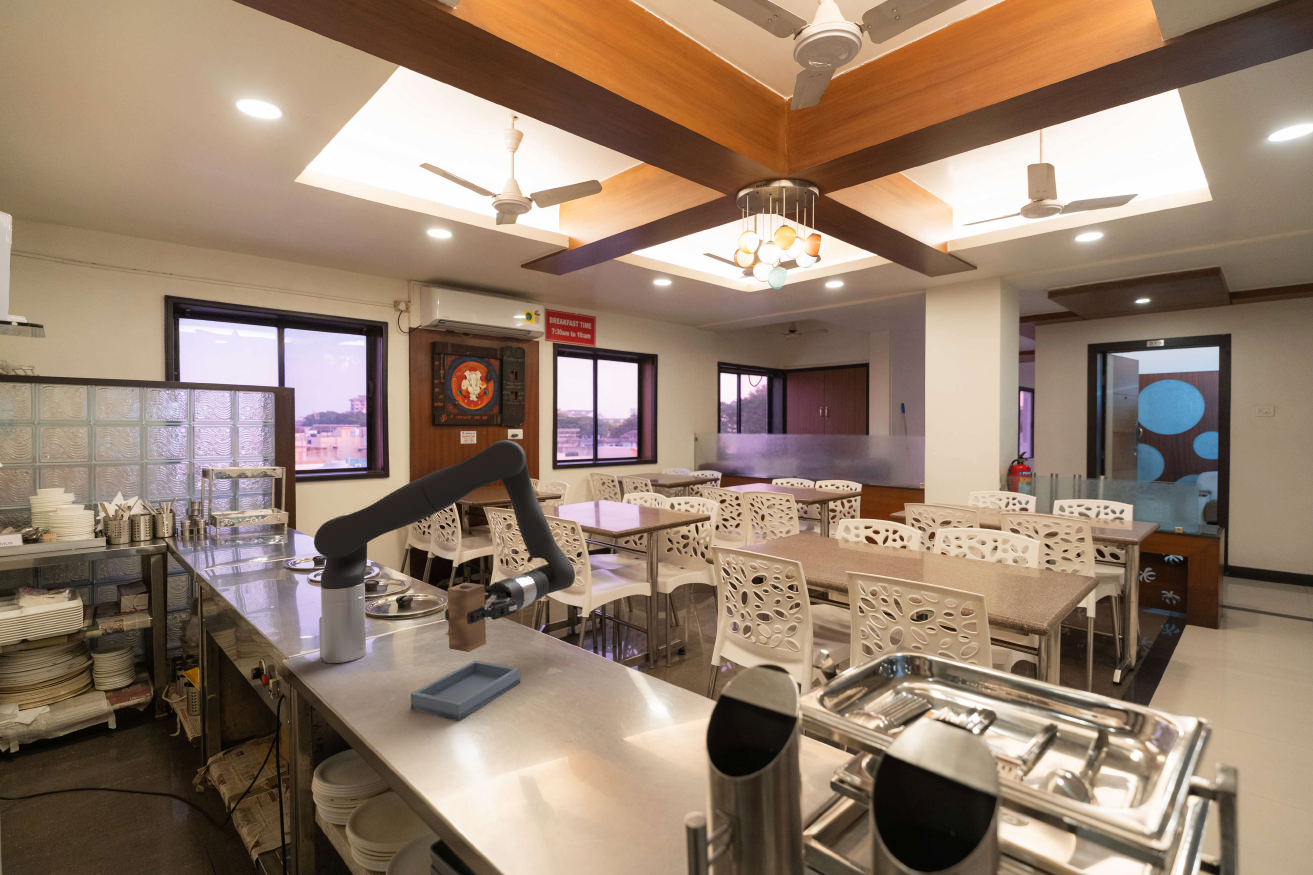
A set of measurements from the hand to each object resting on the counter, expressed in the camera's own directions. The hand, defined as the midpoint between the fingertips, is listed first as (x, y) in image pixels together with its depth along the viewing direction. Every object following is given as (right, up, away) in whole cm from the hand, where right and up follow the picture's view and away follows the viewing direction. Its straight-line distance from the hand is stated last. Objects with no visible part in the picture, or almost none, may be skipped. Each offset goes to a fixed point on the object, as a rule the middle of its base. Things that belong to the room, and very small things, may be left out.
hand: (457, 617), depth 119 cm
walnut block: (+1, -7, +3) cm, 7 cm away
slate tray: (+1, -17, +3) cm, 17 cm away
